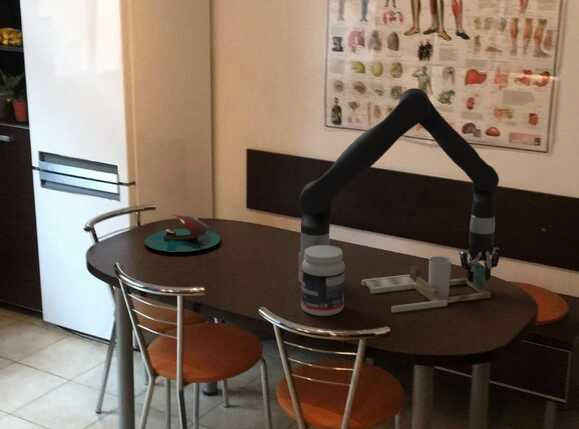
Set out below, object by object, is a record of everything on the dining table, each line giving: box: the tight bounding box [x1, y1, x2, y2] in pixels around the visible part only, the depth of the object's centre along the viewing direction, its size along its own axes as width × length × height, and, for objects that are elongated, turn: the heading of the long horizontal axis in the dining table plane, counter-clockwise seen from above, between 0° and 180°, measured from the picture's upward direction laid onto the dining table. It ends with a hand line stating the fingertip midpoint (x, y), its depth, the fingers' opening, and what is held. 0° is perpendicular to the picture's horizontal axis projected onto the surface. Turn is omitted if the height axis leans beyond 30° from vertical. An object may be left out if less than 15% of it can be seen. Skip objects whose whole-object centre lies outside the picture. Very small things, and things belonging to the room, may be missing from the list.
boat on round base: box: [144, 214, 221, 253], centre depth 299 cm, size 28×28×11 cm
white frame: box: [414, 261, 491, 304], centre depth 252 cm, size 19×14×8 cm
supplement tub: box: [300, 245, 346, 317], centre depth 238 cm, size 13×13×18 cm
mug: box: [427, 255, 452, 298], centre depth 251 cm, size 10×7×12 cm, turn 140°
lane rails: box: [361, 274, 448, 313], centre depth 252 cm, size 18×24×2 cm
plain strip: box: [364, 264, 421, 291], centre depth 259 cm, size 17×5×5 cm, turn 107°
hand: (478, 280), depth 255 cm, fingers open, 5 cm apart
